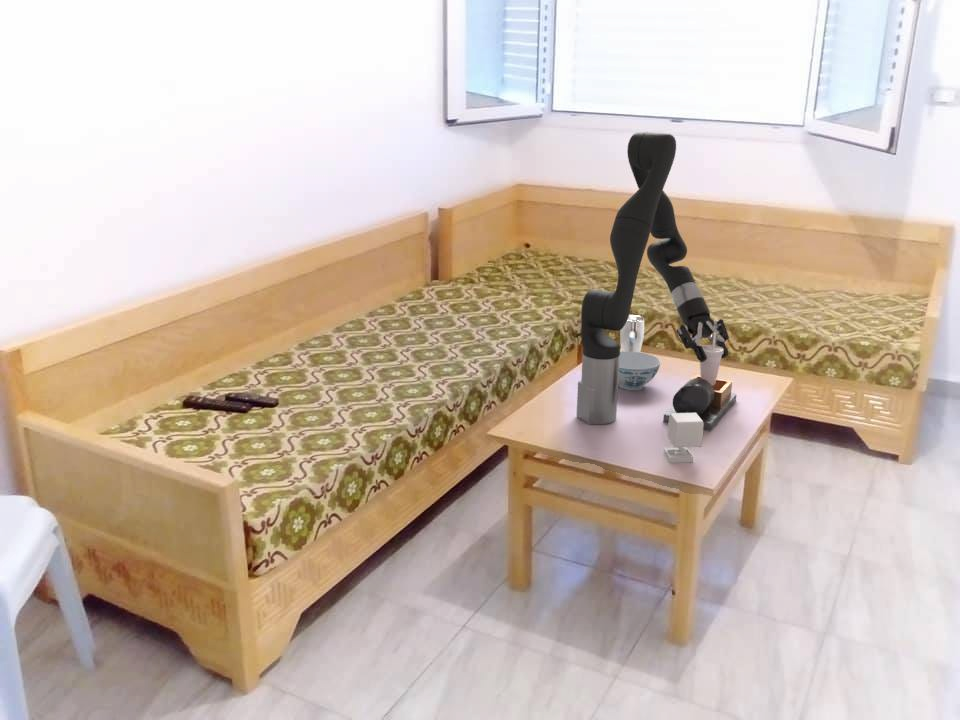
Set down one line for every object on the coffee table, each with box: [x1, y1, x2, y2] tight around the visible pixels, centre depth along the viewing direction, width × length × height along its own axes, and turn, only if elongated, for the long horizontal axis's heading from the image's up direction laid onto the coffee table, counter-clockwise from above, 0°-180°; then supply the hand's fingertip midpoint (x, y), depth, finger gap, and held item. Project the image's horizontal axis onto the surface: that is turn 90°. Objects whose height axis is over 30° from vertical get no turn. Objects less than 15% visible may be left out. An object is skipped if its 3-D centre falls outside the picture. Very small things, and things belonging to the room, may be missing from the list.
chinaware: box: [618, 351, 661, 391], centre depth 251 cm, size 15×15×8 cm
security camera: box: [663, 413, 704, 464], centre depth 206 cm, size 6×7×10 cm
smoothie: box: [699, 333, 724, 385], centre depth 235 cm, size 6×6×14 cm
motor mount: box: [663, 374, 737, 432], centre depth 233 cm, size 24×12×10 cm, turn 150°
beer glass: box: [619, 314, 645, 352], centre depth 265 cm, size 7×7×15 cm
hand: (714, 358), depth 233 cm, fingers closed on smoothie, 6 cm apart
